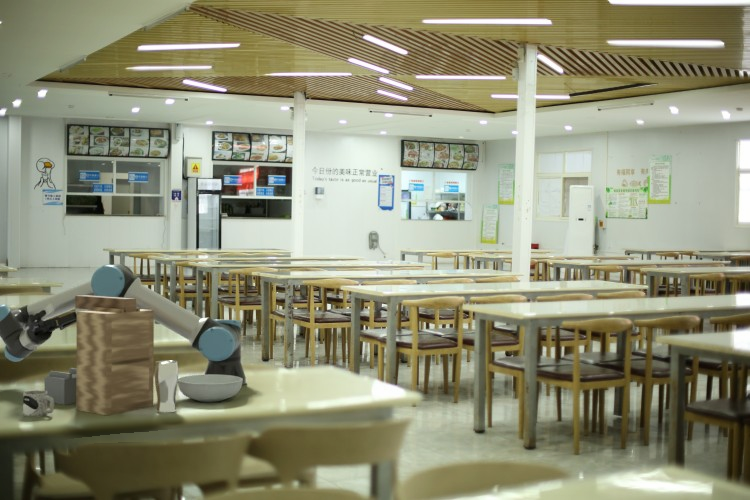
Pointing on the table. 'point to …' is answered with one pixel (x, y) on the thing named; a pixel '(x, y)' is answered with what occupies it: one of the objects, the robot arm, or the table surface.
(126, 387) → the oak stand
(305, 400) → the table surface
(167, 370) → the beer glass
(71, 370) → the grey cradle
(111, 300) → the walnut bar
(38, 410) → the mug
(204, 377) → the serving bowl
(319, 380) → the table surface
